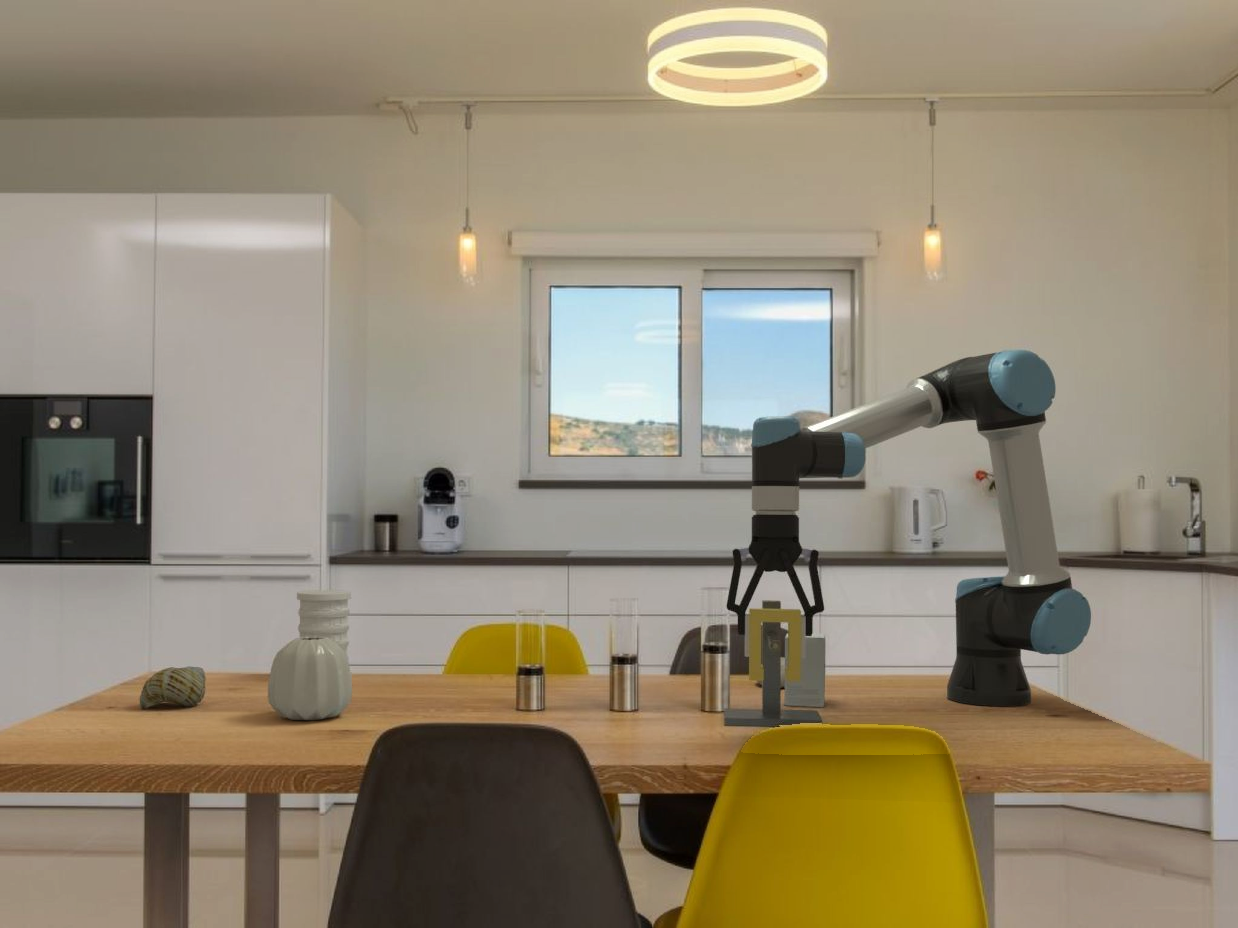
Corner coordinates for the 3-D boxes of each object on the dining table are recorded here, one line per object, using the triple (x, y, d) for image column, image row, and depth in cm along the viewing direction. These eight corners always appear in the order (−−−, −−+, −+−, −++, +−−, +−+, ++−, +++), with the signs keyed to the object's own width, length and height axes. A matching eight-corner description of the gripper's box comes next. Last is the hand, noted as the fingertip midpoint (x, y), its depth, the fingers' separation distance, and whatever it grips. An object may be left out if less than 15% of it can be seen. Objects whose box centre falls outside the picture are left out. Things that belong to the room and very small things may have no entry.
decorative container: (307, 674, 240) (308, 589, 241) (359, 676, 239) (361, 590, 239) (283, 683, 229) (285, 593, 229) (338, 684, 227) (340, 594, 228)
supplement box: (824, 707, 205) (824, 637, 206) (783, 705, 207) (783, 636, 207) (825, 700, 213) (825, 633, 213) (785, 699, 214) (786, 631, 214)
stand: (817, 717, 196) (817, 600, 196) (826, 736, 179) (826, 609, 180) (724, 715, 197) (724, 599, 198) (725, 734, 181) (725, 607, 181)
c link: (799, 678, 182) (799, 609, 183) (800, 681, 179) (801, 611, 179) (749, 676, 183) (749, 608, 183) (749, 680, 179) (749, 610, 180)
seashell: (124, 703, 201) (149, 650, 205) (171, 722, 207) (194, 670, 211) (153, 707, 194) (178, 652, 198) (200, 726, 200) (223, 672, 204)
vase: (263, 712, 196) (265, 635, 197) (345, 707, 202) (346, 632, 202) (272, 727, 184) (274, 644, 184) (359, 721, 189) (360, 640, 190)
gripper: (839, 513, 184) (838, 654, 184) (710, 512, 186) (709, 651, 186) (843, 514, 177) (843, 660, 176) (709, 512, 179) (708, 657, 178)
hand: (774, 656), depth 181 cm, fingers closed on c link, 8 cm apart
